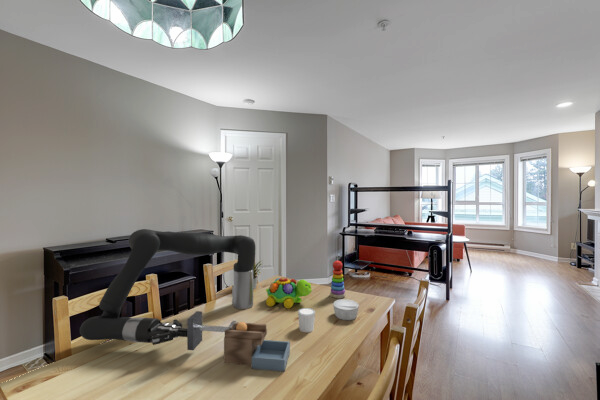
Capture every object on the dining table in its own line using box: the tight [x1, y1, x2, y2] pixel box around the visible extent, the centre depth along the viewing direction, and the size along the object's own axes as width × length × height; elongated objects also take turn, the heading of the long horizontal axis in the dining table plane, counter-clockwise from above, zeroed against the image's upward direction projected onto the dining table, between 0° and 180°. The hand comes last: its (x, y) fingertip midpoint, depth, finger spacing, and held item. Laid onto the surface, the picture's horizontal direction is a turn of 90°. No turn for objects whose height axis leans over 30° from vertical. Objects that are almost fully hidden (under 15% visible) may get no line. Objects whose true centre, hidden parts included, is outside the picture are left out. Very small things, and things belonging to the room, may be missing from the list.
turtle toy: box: [265, 277, 313, 310], centre depth 134 cm, size 17×23×12 cm
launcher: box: [223, 321, 268, 366], centre depth 88 cm, size 12×7×10 cm, turn 83°
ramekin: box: [332, 298, 360, 321], centre depth 119 cm, size 11×11×5 cm
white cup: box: [297, 307, 316, 333], centre depth 107 cm, size 7×7×7 cm
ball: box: [236, 321, 247, 331], centre depth 88 cm, size 4×4×4 cm
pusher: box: [186, 310, 237, 351], centre depth 89 cm, size 14×6×10 cm, turn 83°
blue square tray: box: [251, 339, 291, 372], centre depth 87 cm, size 10×10×4 cm
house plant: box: [253, 260, 264, 290], centre depth 154 cm, size 14×14×16 cm
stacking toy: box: [329, 260, 346, 299], centre depth 142 cm, size 8×8×19 cm
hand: (189, 332), depth 90 cm, fingers closed
